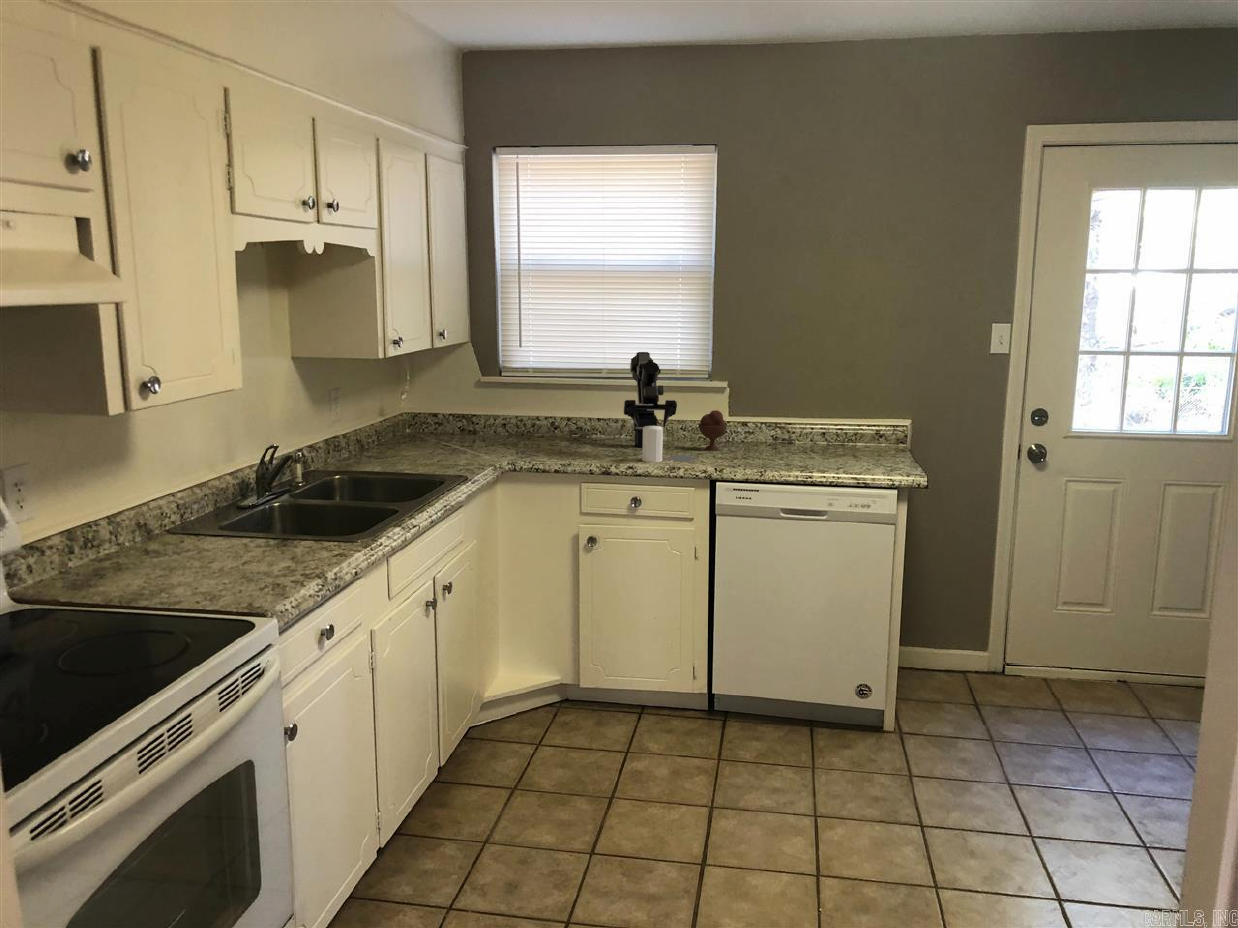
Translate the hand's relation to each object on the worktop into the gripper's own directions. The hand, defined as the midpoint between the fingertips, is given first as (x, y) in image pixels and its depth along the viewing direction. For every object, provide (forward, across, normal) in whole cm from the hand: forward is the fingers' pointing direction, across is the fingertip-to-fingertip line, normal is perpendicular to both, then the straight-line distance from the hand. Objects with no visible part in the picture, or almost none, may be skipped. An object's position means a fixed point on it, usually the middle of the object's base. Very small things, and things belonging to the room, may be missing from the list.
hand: (651, 426), depth 331 cm
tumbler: (+12, 0, +4) cm, 13 cm away
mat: (+9, +11, +7) cm, 16 cm away
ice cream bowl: (-5, +25, +22) cm, 34 cm away
